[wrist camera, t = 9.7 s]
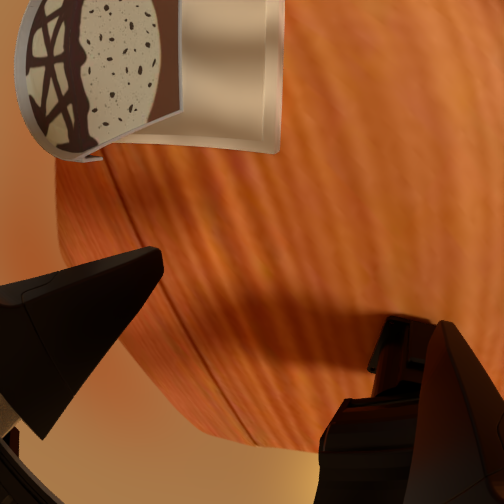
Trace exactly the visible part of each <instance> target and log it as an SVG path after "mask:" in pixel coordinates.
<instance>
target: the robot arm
mask: <svg viewBox="0 0 504 504" xmlns="http://www.w3.org/2000/svg"><path fill="white" fill-rule="evenodd" d="M163 273H164V266H163V259H162V253H161V250H160V249H159V248H155V247H152V246H148V247H144V248H140V249H137V250H133V251H129V252H125V253H122V254H118V255H114V256H111V257H107V258H103V259H100V260H96V261H92V262H89V263H85V264H81V265H78V266H74V267H71V268H67V269H64V270H61V271H60V272H59V271H57V272H53V273H50V274H46V275H42V276H39V277H35V278H31V279H27V280H23V281H18V282H14V283H10V284H6V285H2V286H0V504H64V503H63V502H62V501H61V500H60V499H59V498H58V497H57V496H55V495H54V494H53V493H52V492H51V491H50V490H49V489H48V488H47V487H46V486H45V485H44V484H43V483H42V482H41V481H40V480H39V479H38V478H37V477H36V476H35V475H34V474H33V473H32V472H31V471H30V470H29V469H28V468H27V467H26V466H25V465H24V464H23V462H22V461H21V460H20V459H19V430H18V429H17V428H16V427H15V425H16V424H17V423H18V422H19V421H20V420H21V419H22V420H23V422H24V423H25V424H26V425H27V426H28V427H29V428H30V429H31V430H32V431H33V432H34V433H35V434H36V435H37V436H38V437H39V438H40V439H41V440H43V439H44V438H45V437H46V436H47V434H48V433H49V431H50V430H51V429H52V427H53V426H54V424H55V423H56V421H57V420H58V418H59V417H60V416H61V414H62V413H63V412H64V410H65V409H66V407H67V406H68V404H69V403H70V402H71V400H72V399H73V397H74V396H75V395H76V393H77V392H78V390H79V389H80V388H81V386H82V385H83V384H84V382H85V381H86V380H87V378H88V377H89V375H90V374H91V373H92V372H93V370H94V369H95V367H96V366H97V365H98V363H99V362H100V361H101V359H102V358H103V357H104V356H105V354H106V353H107V352H108V350H109V349H110V348H111V346H112V345H113V344H114V342H115V341H116V340H117V339H118V337H119V336H120V335H121V334H122V332H123V331H124V330H125V328H126V327H127V326H128V325H129V323H130V322H131V321H132V320H133V318H134V317H135V316H136V314H137V313H138V312H139V311H140V309H141V308H142V306H143V305H144V304H145V302H146V300H147V299H148V297H149V296H150V294H151V293H152V291H153V290H154V288H155V287H156V285H157V284H158V282H159V281H160V279H161V277H162V276H163ZM389 322H394V323H392V324H391V323H389ZM367 370H368V371H369V372H370V373H374V374H376V375H375V380H374V385H373V390H372V395H371V398H361V399H352V398H348V399H344V401H343V402H342V404H341V406H340V407H339V409H338V411H337V412H336V414H335V415H334V417H333V419H332V420H331V422H330V423H329V425H328V426H327V428H326V429H325V431H324V433H323V435H322V437H321V438H320V445H319V465H320V472H319V482H318V487H317V492H316V496H315V499H314V503H313V504H504V401H503V399H502V397H501V395H500V394H499V392H498V390H497V389H496V387H495V385H494V384H493V382H492V380H491V379H490V377H489V376H488V374H487V372H486V371H485V369H484V368H483V366H482V365H481V363H480V361H479V360H478V358H477V357H476V355H475V354H474V352H473V351H472V349H471V348H470V346H469V345H468V343H467V342H466V340H465V339H464V338H463V336H462V335H461V333H460V332H459V330H458V329H457V328H456V326H455V325H454V324H453V323H452V322H449V321H444V320H441V321H439V322H438V324H437V326H434V325H429V324H425V323H421V322H416V321H412V320H407V319H403V318H399V317H394V316H389V317H387V318H386V320H385V323H384V326H383V328H382V331H381V334H380V336H379V339H378V342H377V344H376V347H375V349H374V352H373V354H372V357H371V359H370V362H369V364H368V368H367Z"/></svg>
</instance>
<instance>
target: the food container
mask: <svg viewBox="0 0 504 504" xmlns="http://www.w3.org/2000/svg"><path fill="white" fill-rule="evenodd" d="M14 79H15V89H16V95H17V101H18V104H19V108H20V111H21V114H22V117H23V119H24V121H25V124H26V126H27V128H28V129H29V131H30V133H31V135H32V136H33V137H34V139H35V140H36V141H37V143H38V144H39V145H40V146H41V147H42V148H43V149H44V150H46V151H47V152H48V153H50V154H51V155H53V156H54V157H57V158H59V159H62V160H66V161H75V162H82V163H84V162H91V161H99V160H103V157H98V156H92V155H89V154H91V153H93V152H95V151H97V150H99V149H101V148H103V147H105V146H107V145H109V144H111V143H113V142H115V141H117V140H119V139H121V138H123V137H126V136H128V135H130V134H132V133H134V132H137V131H139V130H141V129H143V128H146V127H148V126H150V125H153V124H155V123H157V122H160V121H162V120H165V119H167V118H170V117H172V116H175V115H177V114H180V113H182V112H183V88H182V0H30V2H29V4H28V6H27V8H26V11H25V13H24V16H23V19H22V22H21V25H20V28H19V32H18V36H17V42H16V48H15V57H14Z"/></svg>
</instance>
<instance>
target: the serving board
mask: <svg viewBox="0 0 504 504" xmlns="http://www.w3.org/2000/svg"><path fill="white" fill-rule="evenodd" d="M284 17H285V0H182V88H183V112H182V113H180V114H177V115H175V116H172V117H170V118H167V119H165V120H162V121H160V122H157V123H155V124H153V125H150V126H148V127H146V128H143V129H141V130H139V131H137V132H134V133H132V134H130V135H128V136H126V137H123V138H121V139H119V140H117V141H115V142H113V143H146V144H168V145H185V146H199V147H212V148H223V149H233V150H243V151H252V152H260V153H268V154H275V153H277V152H279V151H280V134H281V110H282V85H283V55H284Z"/></svg>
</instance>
